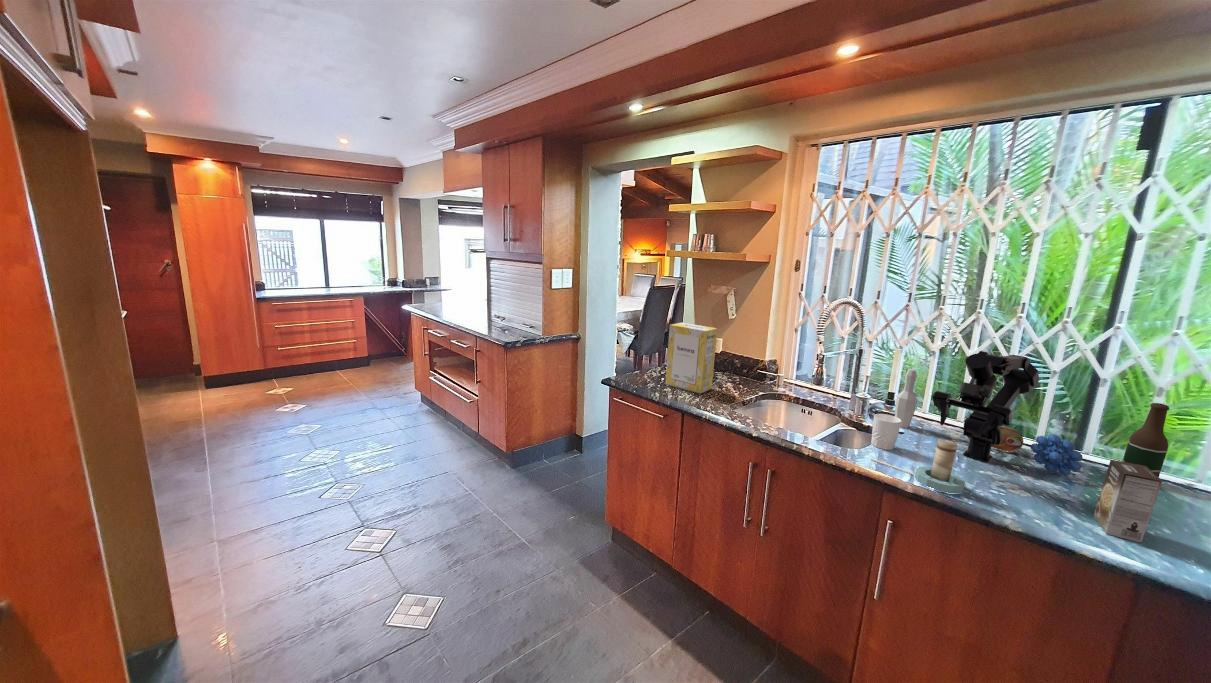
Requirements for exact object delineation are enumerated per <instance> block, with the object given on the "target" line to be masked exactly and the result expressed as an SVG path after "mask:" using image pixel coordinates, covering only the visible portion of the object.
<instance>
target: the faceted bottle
mask: <svg viewBox="0 0 1211 683" xmlns="http://www.w3.org/2000/svg"><path fill="white" fill-rule="evenodd" d="M917 376H918V374H917V369H913V368H909V369H907V371H906V373H905V381H904V382H905V383H904V388H903V390H902V391H901V392H899V394H897V395H896V398H895V400H896V401H895V404H894V416H895V417H897V418H899V419H901V425H900V428H901V427H903V429H909V428H910V427H911V426H910V425H911V423H912V419H913V418H914V414H915V412H916V408H917V402H918V398H917V397H916V395H915V393H914V388H915V383H916V380H917Z"/></svg>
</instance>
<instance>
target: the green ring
mask: <svg viewBox="0 0 1211 683" xmlns="http://www.w3.org/2000/svg"><path fill="white" fill-rule="evenodd" d="M931 470H932V466H919V467H917V468H916V469H915V476H914V479H915V478H916V479H915V481H916V480H917V481H918V482H920V483H922V484H923V485H925V486H928V487H931V488H934V489H936V490H939V491H944V492H948V493H961V492H962V491H963V492H964V489H965V486H966V485H965V484H966V481H965V480H964V479H963V478H962V477H961V476H959V475H957V474H955V473H954V472H952V471H951V475H950V480H949V482H944V481H939V480H937V479H934V478H931V477H930V475H931ZM917 481H916V482H917ZM918 482H917V483H918ZM920 483H919V484H920ZM923 485H922V486H923ZM925 486H924V487H925ZM963 492H962V493H963ZM962 493H961V494H962Z"/></svg>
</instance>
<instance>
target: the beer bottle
mask: <svg viewBox="0 0 1211 683" xmlns="http://www.w3.org/2000/svg"><path fill="white" fill-rule="evenodd" d="M1149 407H1150V409H1149V411H1148V414H1147V416H1146V419H1145V421H1144V422H1143V425H1142V427H1140V428H1138V429H1136V430H1134V432H1133V433H1132V434H1131V435H1130V437H1129V439H1128V442H1127V444H1126V445H1127V446H1126V448H1125V451H1124V456H1123V457H1122V462H1127V463H1132V464H1137V465H1143V466H1147V467H1148V468H1149V469H1150V470H1151V471H1152V472H1153V473H1154V474H1155V475H1156V476H1157V477H1158V478H1160V474H1161V471H1162V468H1163V464H1164V461H1165V459H1166V457H1167V453H1168V448H1169V442H1168V438H1167V436H1166V435H1165V434H1164V426H1165V423H1166V420H1167V414H1168V411H1170V406H1169V405H1167V404H1164V403H1159V402H1152V403H1150V404H1149Z"/></svg>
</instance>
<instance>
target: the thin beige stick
mask: <svg viewBox="0 0 1211 683" xmlns="http://www.w3.org/2000/svg"><path fill="white" fill-rule="evenodd" d="M871 461H873V462H875V463H877V464H881V465H883V466H885V467H886V466H887V467H888V466H889V467H888V468H891V467H892V468H891V469H894V470H897V471H899V470H901V471H900V472H902V471H904V472H903V473H905V472H907V473H906V474H908V473H909V474H908V475H911V474H912V475H911V476H913V475H915V473H916V472H915V473H914V472H912V471H910V470H909V471H908V470H906V469H903V468H901V467H898V466H896V465H895V466H894V465H893V464H889V463H886V462H884V461H881V460H878V459H875V458H873V457H872V458H871Z"/></svg>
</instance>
